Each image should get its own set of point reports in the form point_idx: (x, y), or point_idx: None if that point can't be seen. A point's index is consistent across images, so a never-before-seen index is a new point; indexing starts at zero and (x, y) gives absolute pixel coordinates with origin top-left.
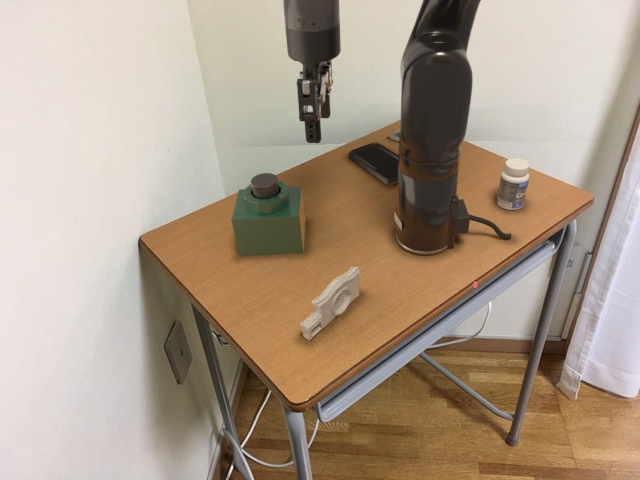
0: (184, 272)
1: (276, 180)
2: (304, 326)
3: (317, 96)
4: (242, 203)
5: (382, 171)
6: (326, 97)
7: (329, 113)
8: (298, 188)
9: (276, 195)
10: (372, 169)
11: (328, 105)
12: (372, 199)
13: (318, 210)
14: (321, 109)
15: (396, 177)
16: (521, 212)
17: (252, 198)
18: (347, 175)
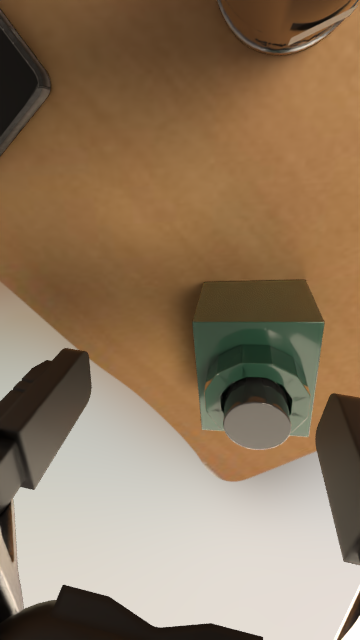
0: None
1: (263, 404)
2: None
3: (33, 480)
4: None
5: (4, 106)
6: (25, 437)
7: (75, 361)
8: (201, 327)
9: (274, 383)
10: (4, 137)
11: (54, 393)
12: (115, 133)
13: (165, 258)
14: (69, 406)
15: (22, 59)
16: None
17: None
18: (30, 202)
